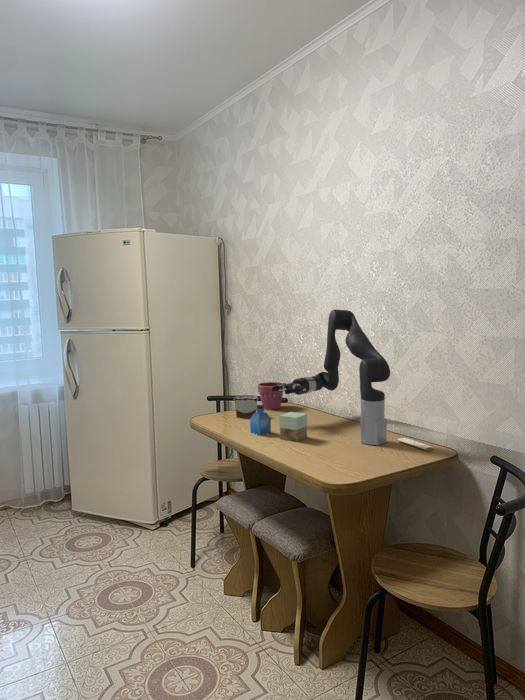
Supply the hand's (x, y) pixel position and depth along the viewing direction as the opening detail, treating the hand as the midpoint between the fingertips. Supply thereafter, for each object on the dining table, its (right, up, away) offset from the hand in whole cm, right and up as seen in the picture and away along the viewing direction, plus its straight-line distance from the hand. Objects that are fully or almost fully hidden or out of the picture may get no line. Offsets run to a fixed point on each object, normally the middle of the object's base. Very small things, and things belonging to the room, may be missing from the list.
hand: (278, 390), depth 227 cm
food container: (-15, -15, +26) cm, 33 cm away
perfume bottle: (-8, -18, -6) cm, 20 cm away
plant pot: (-2, -13, +43) cm, 45 cm away
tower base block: (+6, -19, -15) cm, 25 cm away
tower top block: (+6, -14, -15) cm, 21 cm away
